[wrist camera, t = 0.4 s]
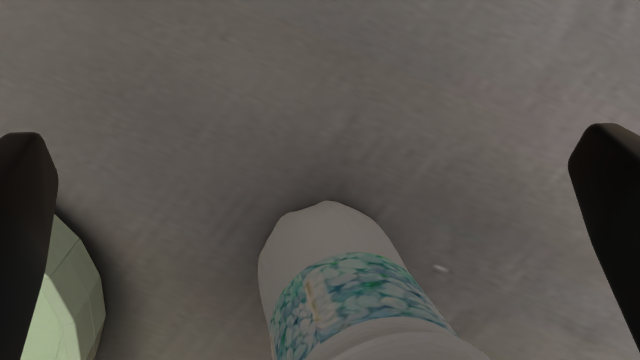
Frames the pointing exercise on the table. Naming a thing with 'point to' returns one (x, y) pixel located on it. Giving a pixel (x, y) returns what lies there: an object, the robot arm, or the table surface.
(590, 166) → the robot arm
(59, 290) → the bowl
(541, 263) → the table surface
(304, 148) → the table surface
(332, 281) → the bottle
